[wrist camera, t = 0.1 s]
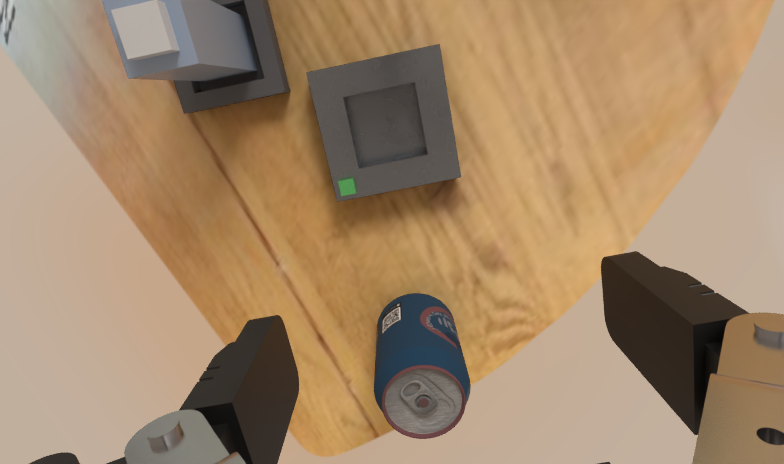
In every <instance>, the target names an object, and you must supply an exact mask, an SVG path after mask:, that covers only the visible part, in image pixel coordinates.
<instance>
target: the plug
mask: <svg viewBox="0 0 784 464" xmlns="http://www.w3.org/2000/svg"><path fill="white" fill-rule="evenodd" d="M102 3H103V6H104V9H105V12H106V14H107V17H108V20H109V23H110V26H111V29H112V32H113V35H114V38H115V41H116V44H117V47H118V50H119V52H120V55H121V58H122V61H123V64H124V67H125V70H126V73H127V76H128V79H151V80H180V81H213V80H217V79H222V78H227V77H231V76H236V75H241V74H245V73H250V72H254V71H258V70H257V67H256V63H255V59H254V56H253V52H252V48H251V44H250V41H249V37H248V33H247V29H246V26H245V22H244V18H243V16H242V15H240V14H238V13H236V12H233V11H231V10H229V9H227V8H225V7H223V6H221V5H219V4H217V3H215V2H213V1H211V0H102Z"/></svg>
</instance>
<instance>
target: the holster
mask: <svg viewBox="0 0 784 464" xmlns="http://www.w3.org/2000/svg"><path fill="white" fill-rule="evenodd" d="M211 1H213V2H215V3H217V4H219V5H221V6H223V7H225V8H227V9H229V10H231V11H233V12H236V13H238V14H240V15H242V16H243V18H244V22H245V26H246V29H247V33H248V37H249V41H250V44H251V48H252V52H253V56H254V59H255V63H256V67H257V70H258V71H254V72H250V73H245V74H241V75H236V76H231V77H227V78H222V79H217V80H213V81H180V80H174V83H175V86H176V89H177V92H178V96H179V99H180V102H181V105H182V108H183V111H184V113H192V112H197V111H202V110H207V109H212V108H216V107H221V106H226V105H230V104H235V103H240V102H244V101H249V100H254V99H258V98H263V97H268V96H273V95H277V94H282V93H287V92H290V88H289V84H288V80H287V76H286V72H285V68H284V64H283V60H282V57H281V53H280V49H279V45H278V41H277V37H276V33H275V29H274V25H273V21H272V17H271V13H270V9H269V5H268V1H267V0H211Z"/></svg>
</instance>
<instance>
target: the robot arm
mask: <svg viewBox="0 0 784 464" xmlns="http://www.w3.org/2000/svg"><path fill="white" fill-rule="evenodd" d="M601 274H602V287H603V301H604V315H605V322H606V326H607V329H608V332H609V334H610V336H611V338H612V340H613V341H614V342H615V344H616V345H617V346H618V347H619V348H620V349H621V351H622V352H623V353H624V354H625V355H626V356H627V357H628V359H629V360H630V361H631V362H632V363H633V364H634V365H635V367H636V368H637V369H638V370H639V371H640V372H641V374H642V375H643V376H644V377H645V378H646V379H647V380H648V382H649V383H650V384H651V385H652V386H653V387H654V388H655V390H656V391H657V392H658V393H659V394H660V395H661V397H662V398H663V399H664V400H665V401H666V402H667V404H668V405H669V406H670V407H671V408H672V409H673V410H674V412H675V413H676V414H677V415H678V416H679V417H680V418H681V420H682V421H683V422H684V423H685V424H686V425H687V426H688V428H689V429H690V430H691V431H692V432H693V433H694V434H695V435H698V438H697V443H696V449H695V453H694V458H693V464H784V315H783V314H776V313H748V312H746V311H745V310H743V309H742V308H740V307H739V306H737V305H736V304H734V303H732V302H731V301H729V300H728V299H726V298H724V297H723V296H721V295H720V294H718V293H714V290H712V289H710V288H709V287H707V286H705V285H702V284H701V282H699V281H698V280H696V279H695V278H693V277H691V276H690V275H688V274H687V273H684V272H680V271H677V270H674V269H671V268H667V267H660V266H658V265H657V264H655V263H654V262H652V261H651V260H649V259H648V258H646V257H645V256H643V255H642V254H640V253H639V252H636V251H635V252H630V253H624V254H618V255H613V256H607V257H604V258H603V259H602V263H601ZM199 380H200V381H199V382H197V384H196V385H195V387H194V388H193V390H192V391H191V393H190V394H189V396H188V397H187V399H186V400H185V402H184V404H183V405H182V406H181V408H180V409H179V411H176V412H172V413H169V414H167V415H164V416H162V417H160V418H157V419H156V420H154V421H152V422H150V423H149V424H147V425H146V426H144V427H143V428H142V429H141V430H139V431H138V432H137V433H136V434H135V435H134V436H133V437H132V438H131V439H130V441H129V442H128V444H127V446H126V448H125V452H124V453H125V457H123V458H120V459H118V460H115V461H112V462H110V463H107V464H277V463H278V459H279V456H280V453H281V449H282V446H283V443H284V439H285V436H286V433H287V430H288V426H289V423H290V420H291V416H292V413H293V410H294V406H295V403H296V400H297V397H298V392H299V377H298V371H297V367H296V364H295V360H294V357H293V353H292V350H291V346H290V343H289V339H288V336H287V332H286V329H285V325H284V323H283V320H282V318H281V317H280V316H279V315H275V316H270V317H264V318H259V319H253V320H249V321H248V322H247V323H246V325H245V327H244V328H243V330H242V332H241V333H240V335H239V336H238V338H237V340H236V341H235V342H232V343H230V344H228V345H227V346H226V347H225V348H224V349H222V350H221V351H220V352H219V353H217V354H216V355H215V356H214V358H213V359H212V361H211V363H210V364H209V365H208V367H207V371H204V373H203V375H202V376H201V377H200V379H199ZM30 464H80V463H79V461H78V459H77V457H76V456H75V455H74V454H72V453H57V454H53V455H49V456H46V457H43V458H41V459H38V460H36V461H34V462H32V463H30ZM599 464H610V462H605V463H599Z"/></svg>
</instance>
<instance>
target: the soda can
mask: <svg viewBox="0 0 784 464" xmlns="http://www.w3.org/2000/svg"><path fill="white" fill-rule="evenodd" d="M374 393H375V398H376V401H377V404H378V406H379V407H380V409H381V410H382V412H383V413H384V416H385V418H386V420H387V421H388V423H389V424H390V425H391V426H392V427H393V428H394V429H395V430H397V431H398V432H400V433H401V434H404V435H406V436H409V437H413V438H419V439H427V438H433V437H437V436H440V435H442V434H445V433H446V432H448V431H450V430H451V429H452V428H453V427H455V425H456V424H457V423H458V422H459V421H460V419H461V417H462V415H463V413H464V410H465V405H466V403H467V401H468V398H469V394H470V379H469V375H468V372H467V368H466V364H465V360H464V357H463V353H462V349H461V345H460V342H459V338H458V334H457V331H456V327H455V323H454V319H453V316H452V314H451V312H450V311H449V309H448V308H447V307H446V306H445V305H444V304H443V303H442V302H441V301H440V300H438V299H436V298H434V297H432V296H429V295H426V294H419V293H414V294H407V295H403V296H401V297H398V298H396V299H395V300H393V301H392V302H390V303H389V304H388V305H387V306H386V307H385V308H384V310H383V311H382V313H381V315H380V317H379V320H378V324H377V340H376V360H375V379H374Z"/></svg>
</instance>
